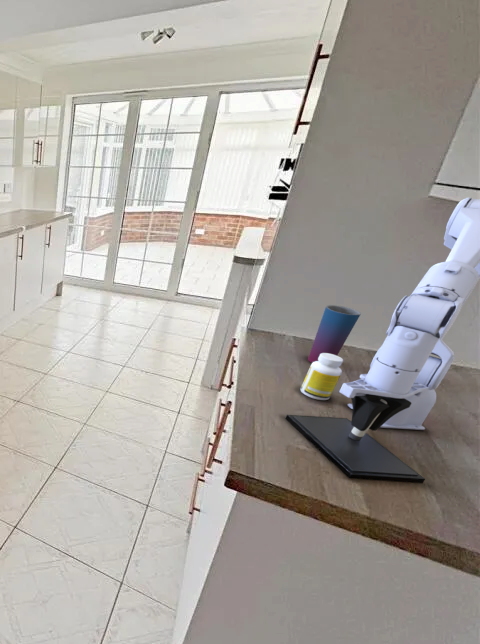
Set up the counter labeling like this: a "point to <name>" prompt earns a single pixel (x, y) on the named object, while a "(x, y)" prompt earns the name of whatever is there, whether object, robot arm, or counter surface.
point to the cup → (333, 330)
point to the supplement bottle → (322, 377)
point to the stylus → (359, 434)
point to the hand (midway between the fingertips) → (363, 427)
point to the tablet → (353, 450)
